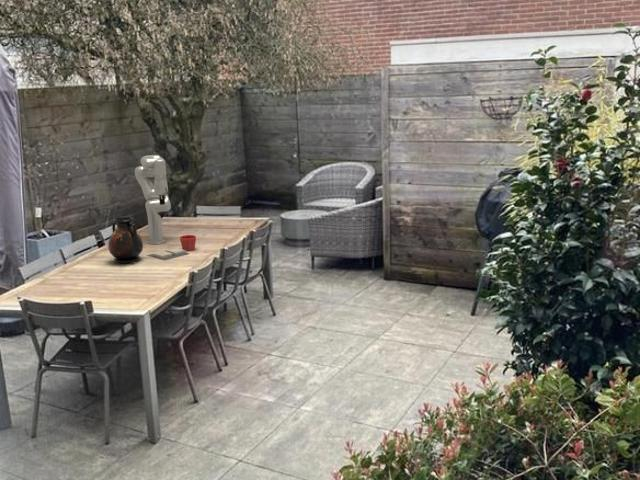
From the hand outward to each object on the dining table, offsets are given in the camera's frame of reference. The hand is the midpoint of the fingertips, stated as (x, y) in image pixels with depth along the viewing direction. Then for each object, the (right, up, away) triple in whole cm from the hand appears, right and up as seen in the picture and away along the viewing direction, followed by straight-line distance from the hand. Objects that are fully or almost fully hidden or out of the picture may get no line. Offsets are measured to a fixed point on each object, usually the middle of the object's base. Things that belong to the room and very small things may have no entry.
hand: (162, 204), depth 409 cm
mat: (+6, -35, -8) cm, 36 cm away
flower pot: (+17, -32, +5) cm, 36 cm away
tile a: (+7, -32, -2) cm, 32 cm away
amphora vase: (-17, -38, -21) cm, 47 cm away
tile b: (0, -34, -10) cm, 35 cm away
